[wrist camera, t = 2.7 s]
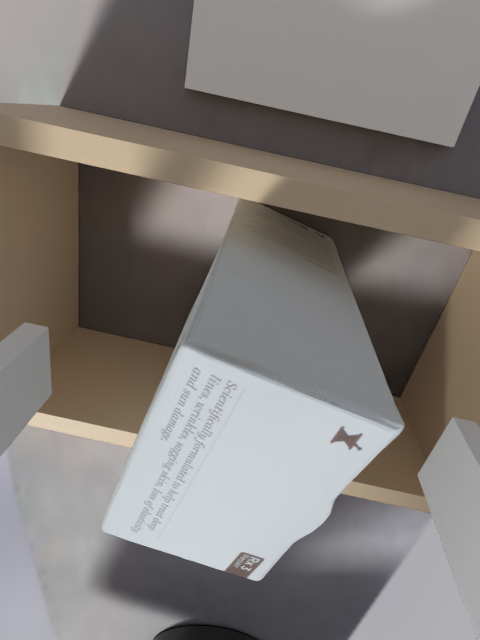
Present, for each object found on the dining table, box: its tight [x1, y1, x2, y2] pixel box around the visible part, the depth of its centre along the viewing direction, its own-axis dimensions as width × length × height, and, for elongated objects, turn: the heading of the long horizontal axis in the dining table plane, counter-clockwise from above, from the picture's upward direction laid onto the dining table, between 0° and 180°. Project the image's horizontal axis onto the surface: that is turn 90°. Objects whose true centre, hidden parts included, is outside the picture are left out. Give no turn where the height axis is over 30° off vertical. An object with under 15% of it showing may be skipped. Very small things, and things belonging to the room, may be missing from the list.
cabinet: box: [0, 103, 480, 513], centre depth 17 cm, size 14×24×14 cm, turn 79°
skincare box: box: [101, 198, 404, 581], centre depth 17 cm, size 8×6×15 cm
